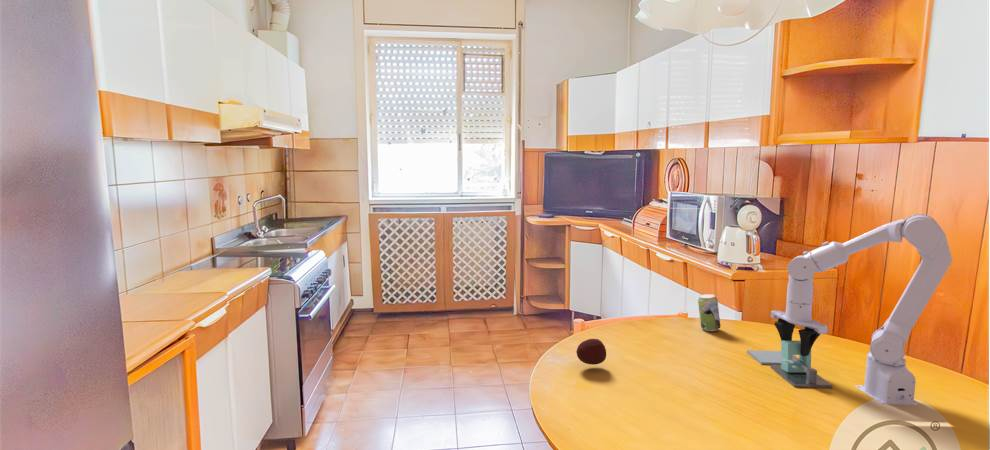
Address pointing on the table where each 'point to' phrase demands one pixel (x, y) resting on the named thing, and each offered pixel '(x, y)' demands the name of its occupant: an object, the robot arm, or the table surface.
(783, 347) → the c link
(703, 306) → the beverage can
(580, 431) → the table surface
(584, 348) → the dark brown ball
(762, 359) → the mat
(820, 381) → the stand
